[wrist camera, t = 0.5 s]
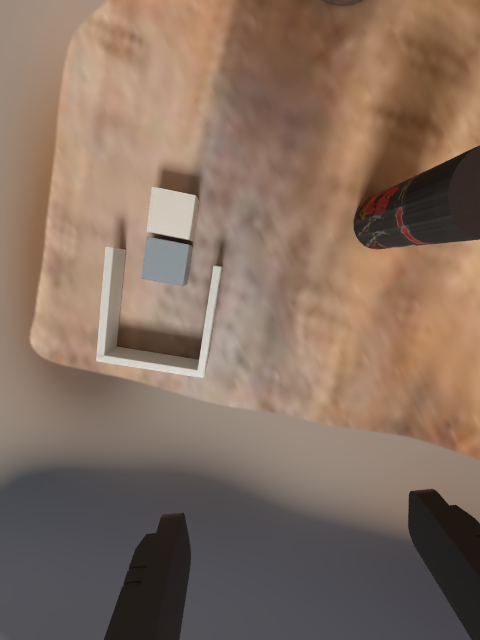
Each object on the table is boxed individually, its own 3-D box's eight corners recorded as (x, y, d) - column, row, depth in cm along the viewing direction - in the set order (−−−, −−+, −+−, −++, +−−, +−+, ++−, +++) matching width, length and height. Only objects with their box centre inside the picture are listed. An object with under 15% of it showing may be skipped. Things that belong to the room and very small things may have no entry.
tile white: (159, 193, 32) (152, 186, 29) (199, 201, 33) (195, 195, 30) (154, 234, 33) (146, 231, 30) (193, 241, 33) (189, 239, 30)
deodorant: (366, 258, 34) (467, 255, 19) (344, 212, 33) (433, 172, 18) (413, 232, 33) (552, 208, 19) (392, 184, 32) (522, 120, 18)
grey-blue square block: (154, 238, 33) (146, 236, 30) (192, 246, 34) (188, 244, 31) (149, 277, 34) (141, 278, 31) (187, 284, 34) (182, 286, 31)
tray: (119, 248, 33) (105, 246, 30) (222, 266, 34) (221, 267, 30) (109, 351, 36) (96, 361, 32) (206, 367, 36) (203, 377, 33)
